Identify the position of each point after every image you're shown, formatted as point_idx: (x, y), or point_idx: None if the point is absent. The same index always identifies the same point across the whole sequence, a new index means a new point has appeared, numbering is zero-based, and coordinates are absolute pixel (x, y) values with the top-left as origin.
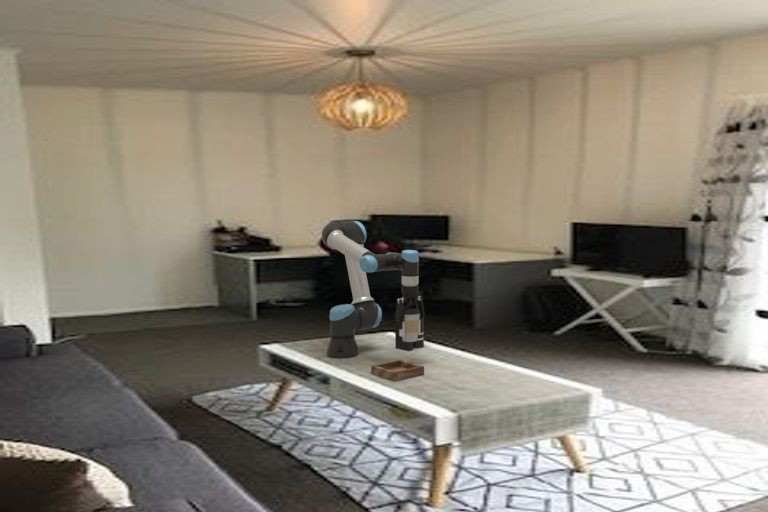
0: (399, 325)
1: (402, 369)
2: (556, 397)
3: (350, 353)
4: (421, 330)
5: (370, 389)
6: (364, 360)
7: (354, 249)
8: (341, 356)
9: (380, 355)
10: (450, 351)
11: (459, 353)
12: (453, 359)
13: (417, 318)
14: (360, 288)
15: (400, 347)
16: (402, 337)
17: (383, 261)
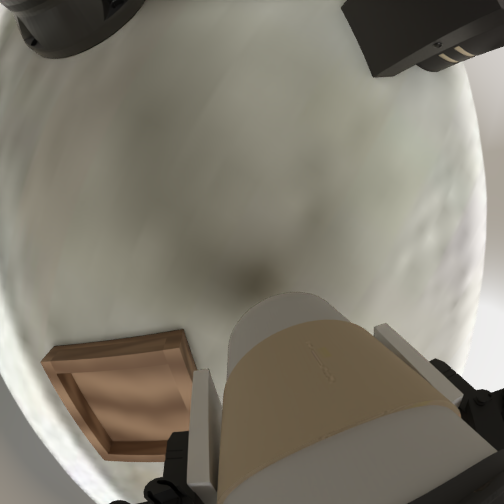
0: (174, 469)
1: (164, 390)
2: None
3: (68, 47)
4: (481, 52)
5: (48, 445)
6: (94, 122)
7: None
8: (42, 55)
9: (211, 63)
10: (479, 193)
11: (481, 237)
12: (429, 305)
13: None
14: None
15: (356, 27)
16: (228, 353)
17: None
